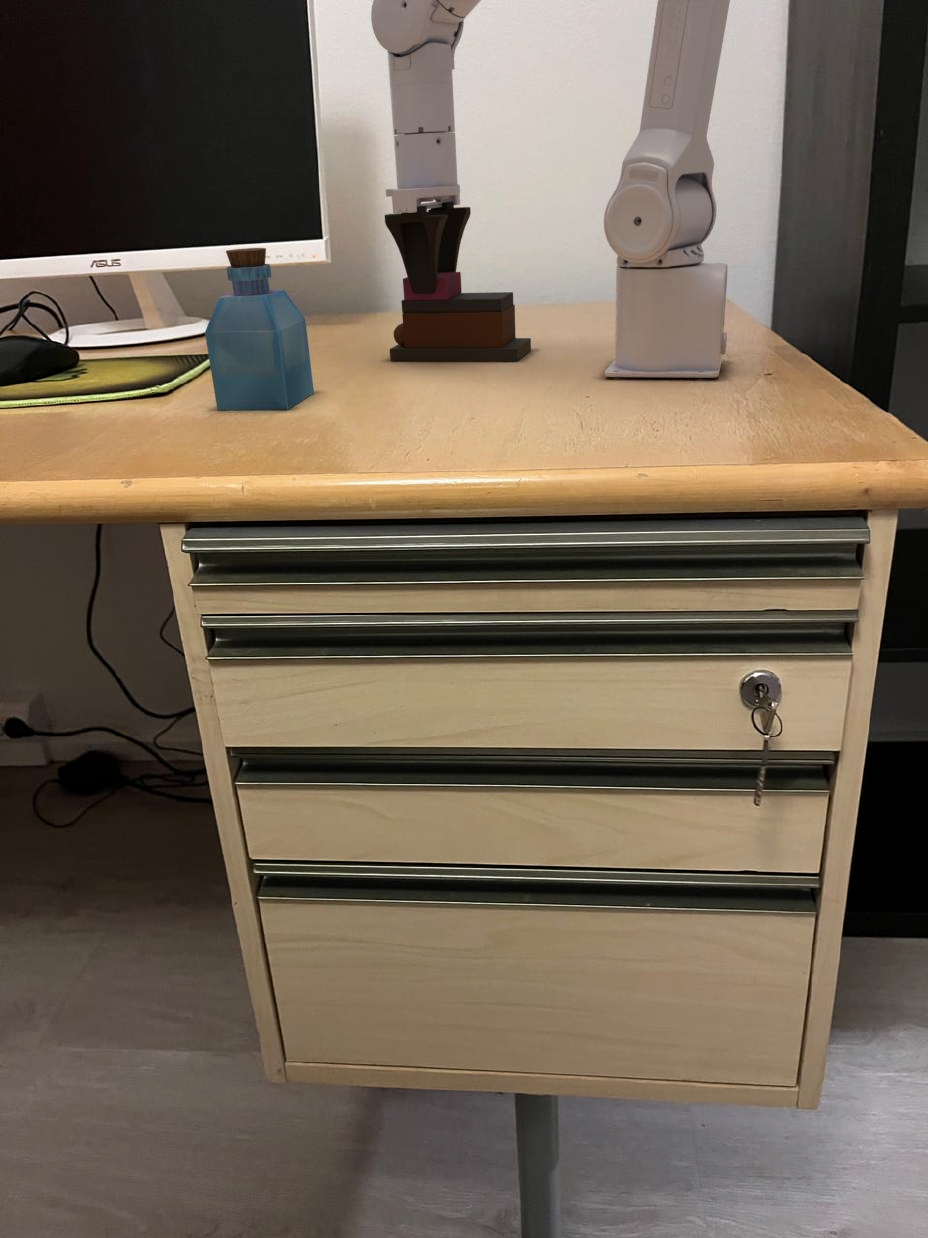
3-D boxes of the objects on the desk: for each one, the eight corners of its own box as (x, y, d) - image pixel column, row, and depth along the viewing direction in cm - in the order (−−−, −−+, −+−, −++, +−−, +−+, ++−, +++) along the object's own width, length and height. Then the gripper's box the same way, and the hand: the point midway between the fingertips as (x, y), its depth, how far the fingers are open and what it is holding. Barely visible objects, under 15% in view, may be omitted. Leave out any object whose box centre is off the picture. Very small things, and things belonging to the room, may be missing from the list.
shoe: (531, 349, 97) (530, 303, 95) (517, 361, 91) (516, 312, 89) (410, 350, 100) (406, 305, 98) (390, 360, 95) (386, 313, 93)
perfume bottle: (288, 409, 77) (267, 251, 72) (217, 409, 78) (192, 254, 73) (314, 392, 83) (296, 244, 78) (247, 393, 84) (226, 247, 79)
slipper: (513, 304, 95) (512, 270, 93) (501, 311, 90) (500, 276, 89) (418, 305, 97) (416, 272, 96) (402, 313, 93) (399, 278, 92)
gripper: (409, 137, 95) (418, 281, 101) (354, 135, 83) (368, 299, 89) (477, 133, 93) (482, 279, 99) (431, 130, 81) (441, 298, 87)
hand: (433, 289), depth 94 cm, fingers open, 6 cm apart
